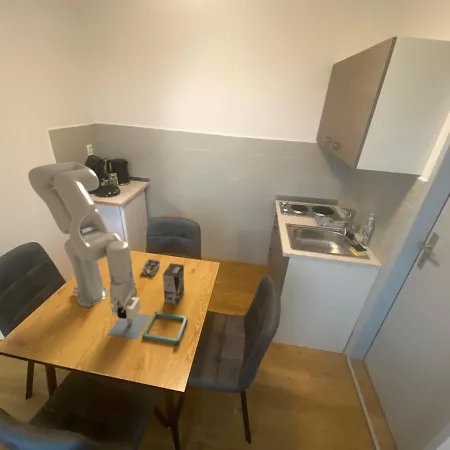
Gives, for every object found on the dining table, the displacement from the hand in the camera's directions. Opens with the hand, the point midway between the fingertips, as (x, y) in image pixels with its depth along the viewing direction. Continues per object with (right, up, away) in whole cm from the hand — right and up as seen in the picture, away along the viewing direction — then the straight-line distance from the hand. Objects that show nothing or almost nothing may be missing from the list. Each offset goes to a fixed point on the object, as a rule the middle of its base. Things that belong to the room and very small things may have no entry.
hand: (126, 310), depth 97 cm
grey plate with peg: (0, -7, +3) cm, 8 cm away
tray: (+15, -9, +2) cm, 17 cm away
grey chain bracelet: (-1, +9, +37) cm, 38 cm away
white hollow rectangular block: (0, 0, 0) cm, 0 cm away
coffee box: (+15, -1, +19) cm, 24 cm away
